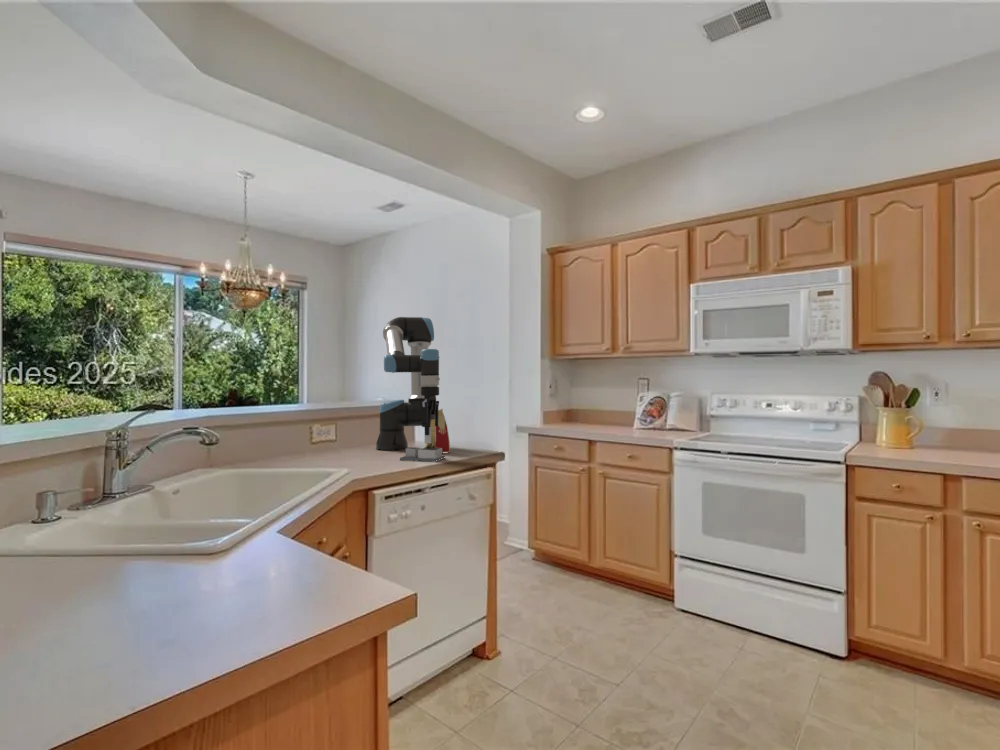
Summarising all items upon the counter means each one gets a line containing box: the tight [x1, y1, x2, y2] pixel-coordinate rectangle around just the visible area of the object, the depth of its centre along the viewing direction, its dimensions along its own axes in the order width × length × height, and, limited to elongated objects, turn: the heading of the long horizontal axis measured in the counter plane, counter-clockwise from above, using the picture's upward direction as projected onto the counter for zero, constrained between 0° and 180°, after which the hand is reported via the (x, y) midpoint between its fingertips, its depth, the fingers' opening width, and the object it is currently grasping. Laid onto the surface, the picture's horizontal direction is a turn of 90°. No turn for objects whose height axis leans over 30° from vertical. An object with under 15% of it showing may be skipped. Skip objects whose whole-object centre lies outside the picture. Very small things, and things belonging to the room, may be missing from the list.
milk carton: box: [435, 408, 451, 454], centre depth 236 cm, size 9×9×20 cm
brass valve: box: [424, 414, 435, 449], centre depth 215 cm, size 4×4×14 cm
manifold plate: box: [399, 446, 446, 462], centre depth 216 cm, size 10×16×4 cm, turn 73°
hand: (430, 442), depth 215 cm, fingers closed on brass valve, 4 cm apart
